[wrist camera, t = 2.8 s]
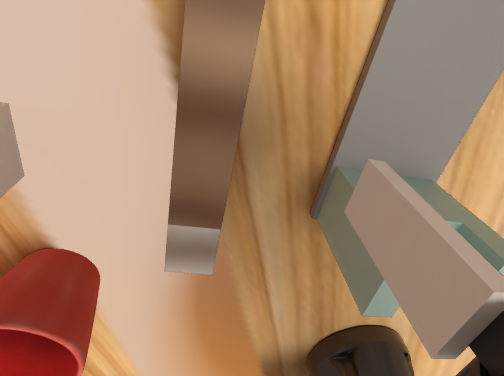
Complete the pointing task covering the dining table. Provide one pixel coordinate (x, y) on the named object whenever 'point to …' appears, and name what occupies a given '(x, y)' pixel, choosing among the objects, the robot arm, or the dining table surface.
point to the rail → (208, 125)
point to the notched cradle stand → (413, 126)
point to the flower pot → (47, 314)
